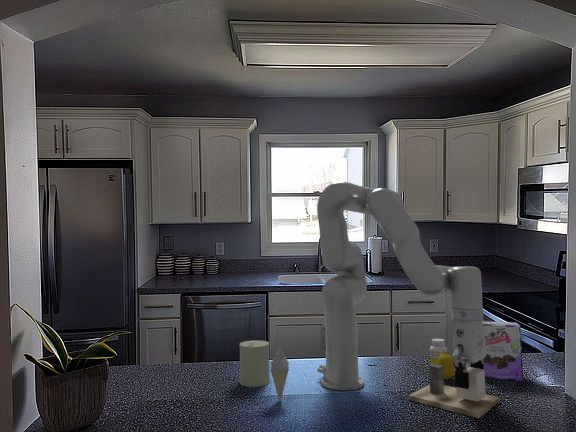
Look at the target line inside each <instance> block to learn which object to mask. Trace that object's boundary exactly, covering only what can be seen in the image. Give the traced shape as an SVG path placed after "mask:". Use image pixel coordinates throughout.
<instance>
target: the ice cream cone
mask: <svg viewBox="0 0 576 432" xmlns="http://www.w3.org/2000/svg"><path fill="white" fill-rule="evenodd" d="M270 365H271V366H269V372H270V373H271V377H272V380H273V383H274V386H275V392H276V394H277V395H276V396H277V398H278V401H279V400H281V401H282V398H283V395H284V394H283V393H284V391H285V390H284V389H285V386H286V381H287V377H288V374H289V371H290V369H289V368H290V367H289V366H290V363H289V360H288V359H287V358H286V356H285V352H284V351H283V349H282V346H281V344H280V343H278V346H277V348H276V351H275V353H274V357H273V358H272V360H271V362H270Z"/></svg>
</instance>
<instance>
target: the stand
mask: <svg viewBox="0 0 576 432" xmlns="http://www.w3.org/2000/svg"><path fill="white" fill-rule="evenodd" d="M428 369H429V370H428V371H429V372H428V373H429V384H427V385H426V386H425V387H423V388H420V389H419V390H416V391H415V392H413V393H411V394H408V401H411V400H412V401H411V402H414V401H415V402H414V403H418V402H419V404H422V405H427V406H431V407H434V408H437V409H442V410H447V411H449V412H453V413H457V414H461V415H465V416H467V417H468V416H469V417H473V418H477V419H480V418H482V416H484V415H485V414H486V413H488V412H489V411H491V410H492V409H493V408H494V407H495V406H497V405H498V404H499V403H500V402H499V401H500V397H499V396H494V395H489V394H486V396H485V397H484V398H482V399H481V400H480V401H478V402H477V401H472V400H468V399H464V398H460V397H457V390H456V387H453V386H449V385H444V377H443V366H442V365H436V364H432V365H431V364H430V365H429V366H428ZM498 402H499V403H498ZM497 403H498V404H497ZM496 404H497V405H496ZM493 406H494V407H493ZM492 407H493V408H492ZM491 408H492V409H491Z"/></svg>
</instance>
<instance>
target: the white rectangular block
mask: <svg viewBox="0 0 576 432" xmlns="http://www.w3.org/2000/svg"><path fill="white" fill-rule="evenodd" d="M467 372H469V389H464V388H459V387H456V386H455V388H456V390H457V397H460V398H464V399H468V400H472V401H477V402H478V401H480V400H481V399H482V398H484V397H485V396H486V395H487V394H486V378H485V372H484V369H478V368H473V367H471V366H468V368H467Z"/></svg>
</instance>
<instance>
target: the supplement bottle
mask: <svg viewBox="0 0 576 432" xmlns="http://www.w3.org/2000/svg"><path fill="white" fill-rule="evenodd" d="M431 344H432V345H431V346H430V347H429V354H430V355H429V356H430V357H429V358H430V359H429V360H430V365H432V364H436V365H437V360H438V357H439V356H440V355H442V354H444V353H447V354H448V355H449V353H448V348H447V346H445V345H446V341H445V339H443V338H432V339H431Z"/></svg>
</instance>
